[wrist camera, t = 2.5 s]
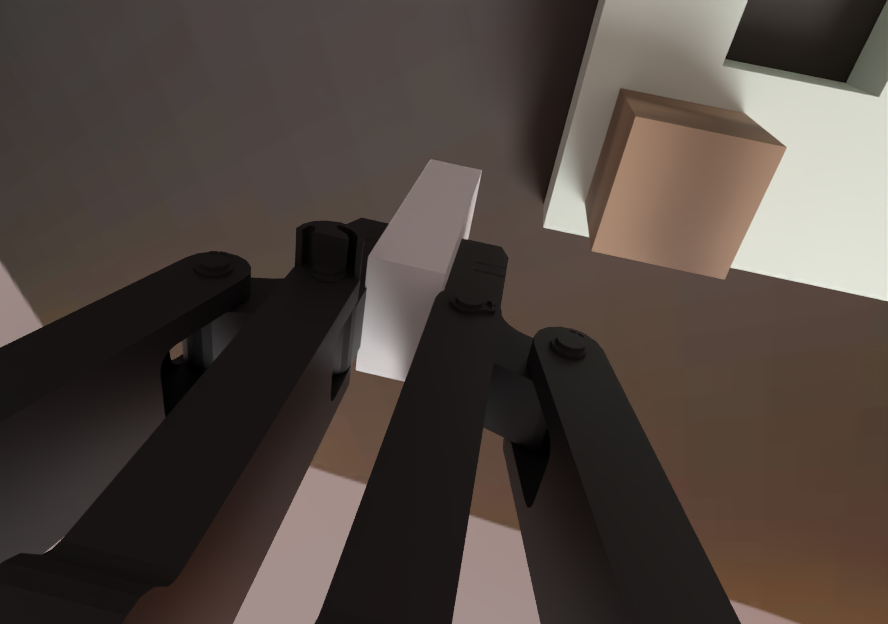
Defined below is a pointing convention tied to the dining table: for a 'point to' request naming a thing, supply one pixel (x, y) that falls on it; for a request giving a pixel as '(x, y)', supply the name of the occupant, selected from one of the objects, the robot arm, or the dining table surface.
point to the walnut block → (678, 183)
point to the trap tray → (772, 107)
